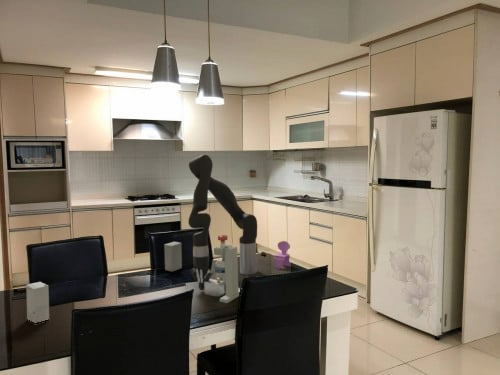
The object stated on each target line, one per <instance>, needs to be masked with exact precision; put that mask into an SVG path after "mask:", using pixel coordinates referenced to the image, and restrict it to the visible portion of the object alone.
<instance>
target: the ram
mask: <svg viewBox="0 0 500 375" xmlns="http://www.w3.org/2000/svg"><path fill="white" fill-rule="evenodd" d="M217 241H220V246H221V248H225V245H226V241H228V235H226V234H222V235H217ZM215 263H216V264H217V267H221V268H225V255H224V256H221V257H220V258H218V259H217V260H216V262H215Z"/></svg>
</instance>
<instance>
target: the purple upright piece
mask: <svg viewBox="0 0 500 375" xmlns="http://www.w3.org/2000/svg"><path fill="white" fill-rule="evenodd" d="M277 248H278V249H279V250H280V251H281V252H280V253H278V254H275V255H274V262H275V264H274V265H275V266H274V269H279V270H285V266H286V267H291V266H292V264H291V263H290V258H291V256H290V254H288V250H289V249H291V245H290V243H289V242H288V241H285V240H281V241H279V242H278V243H277Z"/></svg>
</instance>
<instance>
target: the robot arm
mask: <svg viewBox="0 0 500 375" xmlns="http://www.w3.org/2000/svg"><path fill="white" fill-rule="evenodd" d="M213 165H214V164H213V160H212V158H211V157H210V156H209V155H208V154H202V155H199V156H196V157H195V158H193V159H191V160H190V161H189V163H188V168H189V170H190V171H191V173H192V175H193V176H194V177H195V178H196V179H198V182H197V185H195V186H196V187H195V189H194V192H193V199H192V200H193V201H192V208H191V210H190V211H191V212H190V214H189V216H188V225H189V227H190V228H191V229H203V230H202V231H200V232H195V233H193V235H192V243H193V244H192V259H193V263H192V264H193V268H192V269H190V270H189V272H190V274H191V276H192V278H193V279H194V281H197V282H198V288H199V291H205V285H204V282H205V281H207V280H209V279H212V276H213V274H214V271H211V270H210V266H209V264H210V254H209V253H210V252H209V240H208V239H209V229H210V226H211V222H212V218H211V215H210V214H209V213H207V212H204V211H206V210H208V202H209V201H208V200H209V199H208V196H209V195H208V194H209V192H210V193H211V194H212V196H213V197H214V199H216V201H217V202H218V203H219V204H220V205H221V206H222V208H223V209H224V210H225V211H226V212H227V213H228V214H229V215H230V218H231V219H232V220H233V222H234V223H235V225H236V226H237V227H238V228H239V229H240V230H242V236H240V237H239V240H238V242H239V271H240V274H241V275H249V276H250V275H254V274H256V273H257V272H258V262H257V259H258V258H257V242H256V240H257V237H258V220H257V217H256V216H255V215H254V214H249V213H246V212H245V211H244V210H243V209H242V208H241V207H240V206H239V203H238V201H237V198H236V195H235V193H234V192H233V191H232V189H231V188H230V187H229V186H228V185H227V184H226V183H224V182H222V181H220V180H218V179H215V178H213V177H212V176H211V175H212V171H213ZM201 212H202V213H201ZM203 212H204V213H203Z"/></svg>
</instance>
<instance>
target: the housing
mask: <svg viewBox="0 0 500 375" xmlns="http://www.w3.org/2000/svg"><path fill="white" fill-rule="evenodd" d="M204 285H205V289H204V295H206V296H213V297H217V296H218V297H221V296H224V293H225V294H226V287H225V284H224V281H220V278H217V280H216V279H213V278H210V279H209V280H207V281H205V282H204ZM218 297H217V298H218Z"/></svg>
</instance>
